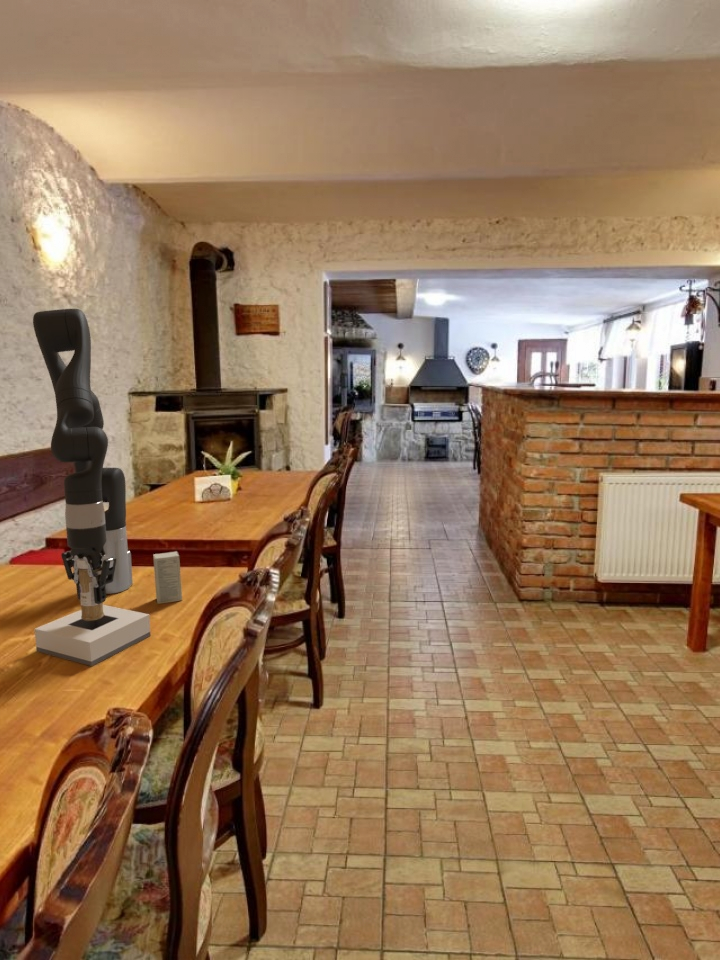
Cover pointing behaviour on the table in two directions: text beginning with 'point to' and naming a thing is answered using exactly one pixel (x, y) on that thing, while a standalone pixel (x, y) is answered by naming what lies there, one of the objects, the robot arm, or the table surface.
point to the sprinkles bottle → (88, 594)
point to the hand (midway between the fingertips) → (91, 600)
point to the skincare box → (167, 577)
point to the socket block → (92, 635)
